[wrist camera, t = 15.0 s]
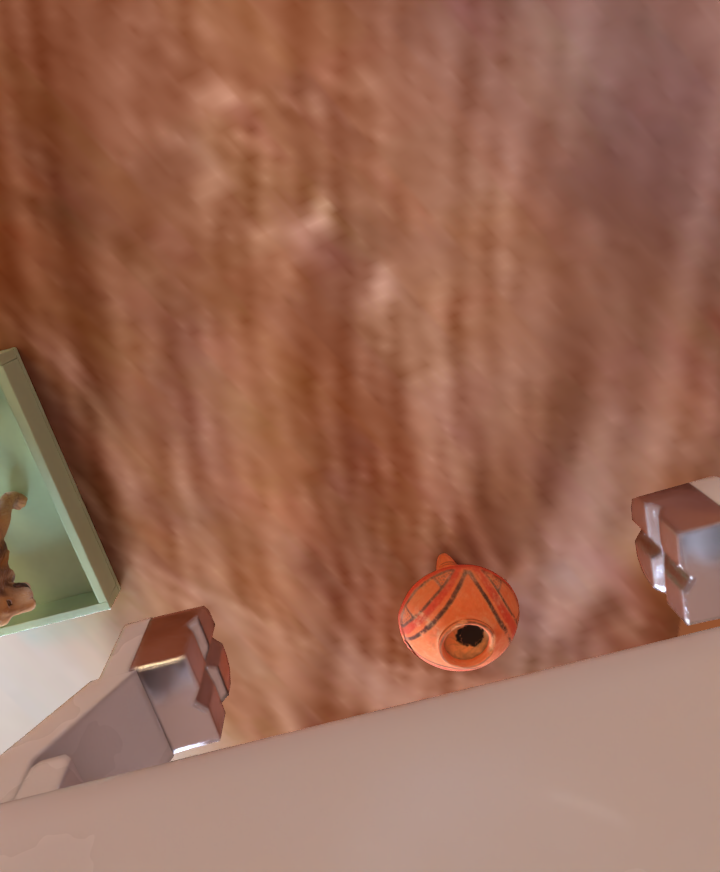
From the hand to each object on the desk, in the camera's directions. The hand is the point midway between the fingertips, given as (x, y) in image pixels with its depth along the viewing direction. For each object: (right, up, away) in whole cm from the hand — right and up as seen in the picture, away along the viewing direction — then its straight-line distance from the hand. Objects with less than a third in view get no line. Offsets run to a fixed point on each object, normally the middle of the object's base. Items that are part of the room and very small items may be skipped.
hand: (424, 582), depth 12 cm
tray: (-24, -1, +30) cm, 38 cm away
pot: (+5, -8, +34) cm, 36 cm away
